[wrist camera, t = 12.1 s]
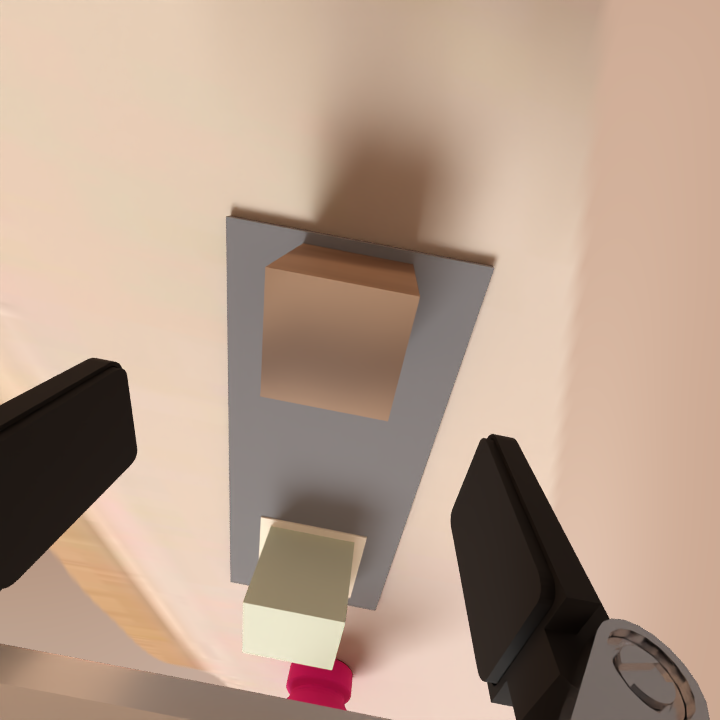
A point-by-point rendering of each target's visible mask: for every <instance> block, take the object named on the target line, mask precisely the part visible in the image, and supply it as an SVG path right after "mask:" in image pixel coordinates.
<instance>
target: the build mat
mask: <svg viewBox="0 0 720 720" xmlns="http://www.w3.org/2000/svg"><path fill="white" fill-rule="evenodd" d="M303 243H305V244H310V245H315V246H320V247H326V248H331V249H336V250H341V251H347V252H352V253H357V254H362V255H367V256H373V257H378V258H383V259H388V260H393V261H399V262H404V263H409V264H413V266H414V271H415V275H416V280H417V285H418V289H419V294H420V299H419V303H418V307H417V311H416V314H415V318H414V322H413V326H412V330H411V334H410V338H409V342H408V346H407V349H406V353H405V357H404V361H403V365H402V369H401V373H400V377H399V380H398V384H397V388H396V392H395V396H394V400H393V404H392V408H391V412H390V415H389V419H388V421H384V420H379V419H373V418H368V417H363V416H358V415H353V414H348V413H343V412H338V411H332V410H327V409H322V408H317V407H312V406H307V405H302V404H296V403H291V402H286V401H281V400H276V399H271V398H266V397H260V390H261V365H262V340H263V314H264V289H265V267H266V266H268V265H269V264H271V263H272V262H274V261H276V260H277V259H279V258H280V257H282V256H284V255H285V254H287V253H288V252H290V251H291V250H293V249H295V248H296V247H298V246H299V245H301V244H303ZM226 246H227V326H228V407H229V487H230V568H231V582H234V583H239V584H244V585H250V582H251V579H252V577H253V574H254V571H255V568H256V566H257V563H258V560H259V557H260V555H261V552H262V549H263V547H264V544H265V541H266V538H267V536H268V533H269V530H270V527H271V526H273V527H278V528H283V529H288V530H293V531H299V532H304V533H309V534H314V535H319V536H324V537H329V538H334V539H339V540H344V541H350V542H355V543H354V552H353V561H352V569H351V578H350V587H349V595H348V604H347V605H350V606H355V607H360V608H365V609H370V610H376V607H377V604H378V601H379V598H380V595H381V593H382V590H383V587H384V584H385V581H386V578H387V575H388V572H389V570H390V567H391V564H392V561H393V558H394V555H395V552H396V549H397V547H398V544H399V541H400V538H401V535H402V532H403V529H404V526H405V524H406V521H407V518H408V515H409V512H410V509H411V506H412V503H413V501H414V498H415V495H416V492H417V489H418V486H419V483H420V480H421V478H422V475H423V472H424V469H425V466H426V463H427V460H428V457H429V454H430V452H431V449H432V446H433V443H434V440H435V437H436V434H437V431H438V429H439V426H440V423H441V420H442V417H443V414H444V411H445V408H446V406H447V403H448V400H449V397H450V394H451V391H452V388H453V385H454V383H455V380H456V377H457V374H458V371H459V368H460V365H461V362H462V360H463V357H464V354H465V351H466V348H467V345H468V342H469V339H470V337H471V334H472V331H473V328H474V325H475V322H476V319H477V316H478V314H479V311H480V308H481V305H482V302H483V299H484V296H485V293H486V291H487V288H488V285H489V282H490V279H491V276H492V273H493V270H494V267H493V266H489V265H484V264H479V263H474V262H469V261H463V260H458V259H453V258H448V257H442V256H437V255H432V254H427V253H422V252H416V251H411V250H406V249H401V248H395V247H390V246H385V245H380V244H375V243H369V242H364V241H359V240H354V239H348V238H343V237H338V236H333V235H328V234H322V233H317V232H312V231H307V230H301V229H296V228H291V227H286V226H281V225H275V224H270V223H265V222H260V221H255V220H249V219H244V218H239V217H234V216H226Z"/></svg>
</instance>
